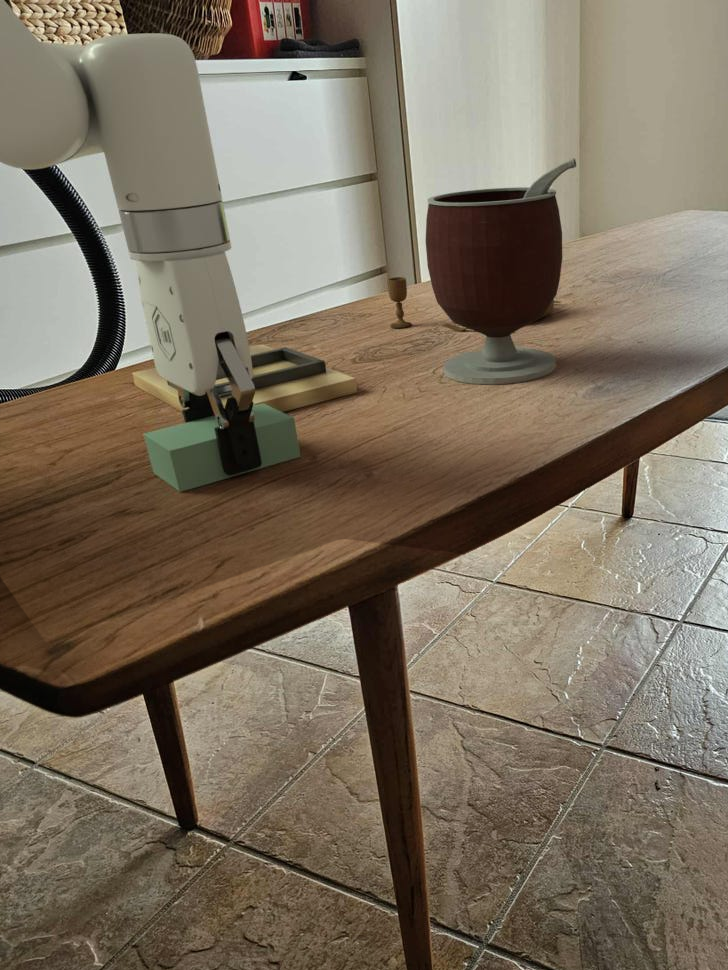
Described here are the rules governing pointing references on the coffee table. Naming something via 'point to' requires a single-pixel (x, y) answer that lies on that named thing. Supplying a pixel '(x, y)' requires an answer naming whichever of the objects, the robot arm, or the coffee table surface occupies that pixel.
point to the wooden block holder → (269, 380)
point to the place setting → (399, 293)
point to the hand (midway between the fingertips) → (226, 458)
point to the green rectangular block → (216, 448)
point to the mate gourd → (496, 272)
